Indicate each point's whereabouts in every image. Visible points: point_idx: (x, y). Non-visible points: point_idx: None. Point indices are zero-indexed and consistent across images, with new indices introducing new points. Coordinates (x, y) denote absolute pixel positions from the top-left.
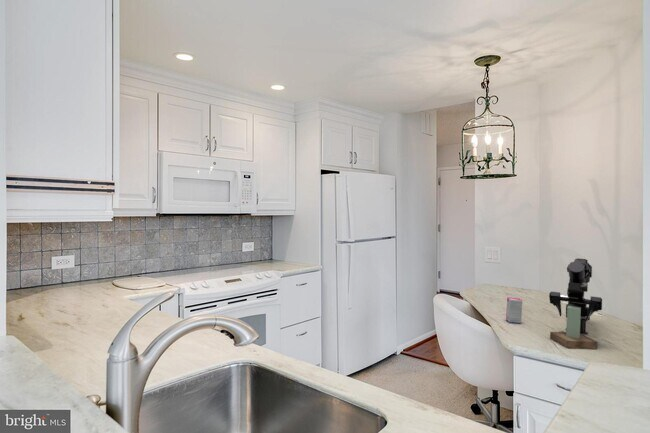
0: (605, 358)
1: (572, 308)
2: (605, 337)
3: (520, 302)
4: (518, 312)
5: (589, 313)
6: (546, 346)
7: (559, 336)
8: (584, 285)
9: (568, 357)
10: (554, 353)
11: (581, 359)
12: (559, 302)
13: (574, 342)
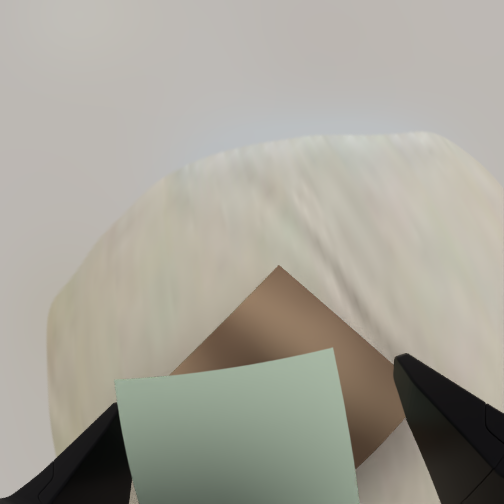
0: (121, 270)
1: (234, 367)
2: None
3: None
4: None
5: (72, 444)
6: (362, 224)
7: (345, 326)
8: None
9: (237, 158)
10: (294, 159)
11: (193, 177)
12: None
13: (245, 301)
